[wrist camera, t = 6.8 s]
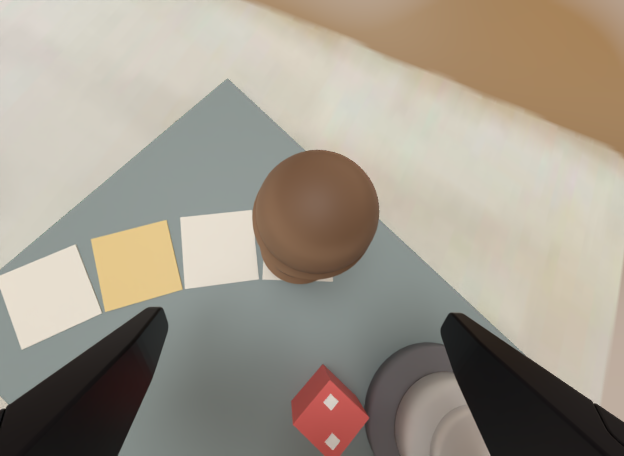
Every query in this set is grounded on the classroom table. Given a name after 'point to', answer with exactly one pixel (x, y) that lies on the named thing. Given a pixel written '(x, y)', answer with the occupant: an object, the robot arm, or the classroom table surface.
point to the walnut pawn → (314, 216)
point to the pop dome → (437, 420)
